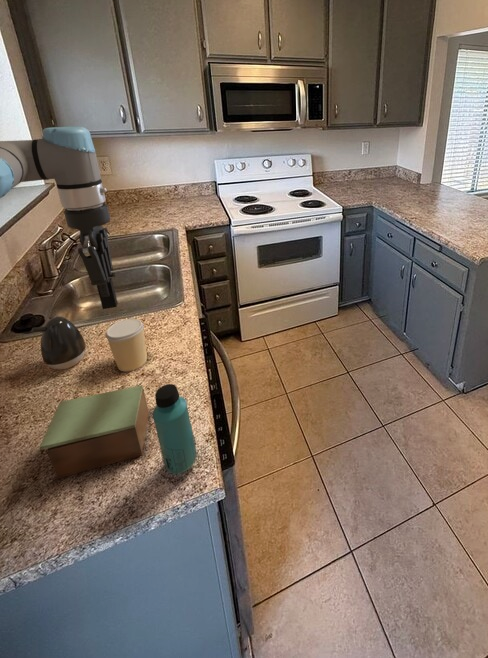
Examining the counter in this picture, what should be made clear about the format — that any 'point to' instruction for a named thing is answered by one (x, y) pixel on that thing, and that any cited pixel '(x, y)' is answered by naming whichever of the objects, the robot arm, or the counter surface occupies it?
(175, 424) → the beverage bottle
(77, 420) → the lid
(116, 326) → the coffee cup
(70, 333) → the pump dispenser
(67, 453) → the brown wooden box
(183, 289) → the counter surface
